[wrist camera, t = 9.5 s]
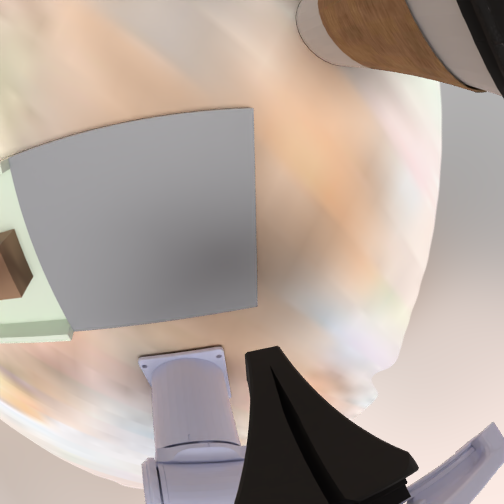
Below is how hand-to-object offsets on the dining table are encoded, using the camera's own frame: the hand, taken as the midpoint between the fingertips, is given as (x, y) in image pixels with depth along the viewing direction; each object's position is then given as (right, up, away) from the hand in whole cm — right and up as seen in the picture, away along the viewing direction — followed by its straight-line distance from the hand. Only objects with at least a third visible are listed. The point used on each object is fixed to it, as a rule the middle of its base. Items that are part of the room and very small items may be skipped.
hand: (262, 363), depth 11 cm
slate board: (-8, +6, +6) cm, 12 cm away
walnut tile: (-19, +4, +4) cm, 19 cm away
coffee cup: (+5, +19, +2) cm, 20 cm away
